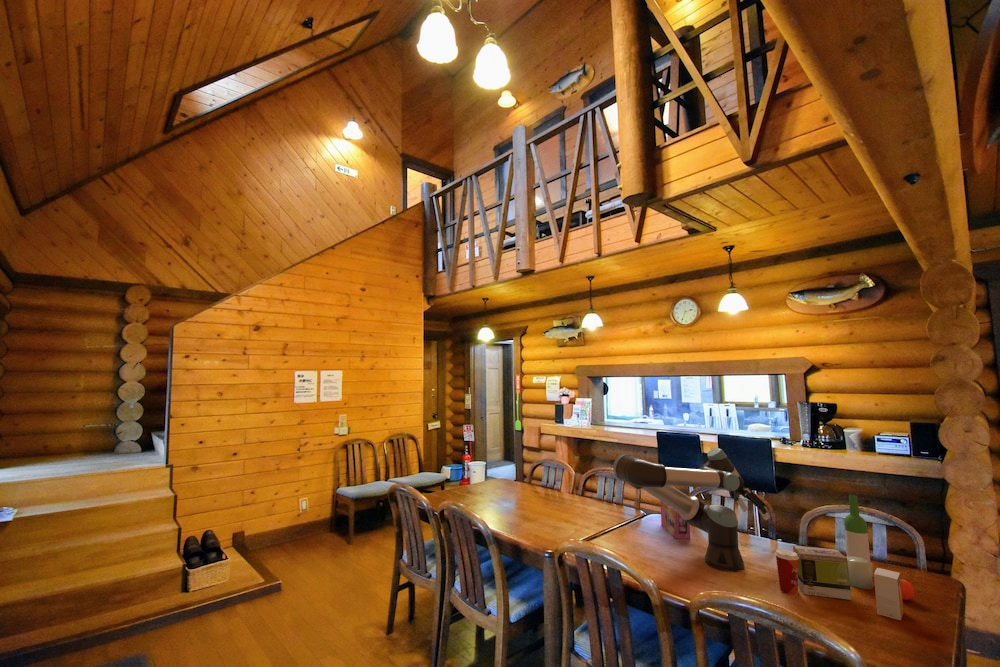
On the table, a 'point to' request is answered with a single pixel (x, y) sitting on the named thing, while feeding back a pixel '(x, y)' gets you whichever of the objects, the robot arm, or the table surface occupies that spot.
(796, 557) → the paper cup
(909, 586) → the strawberry
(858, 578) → the sage mug
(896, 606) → the small box
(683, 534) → the gum box
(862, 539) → the wine bottle
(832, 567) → the tea box
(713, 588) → the table surface
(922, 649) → the table surface
